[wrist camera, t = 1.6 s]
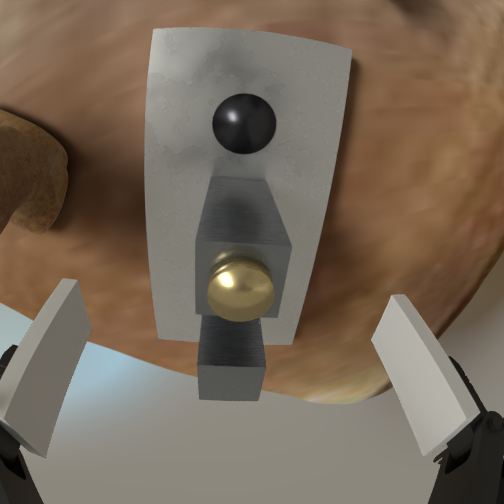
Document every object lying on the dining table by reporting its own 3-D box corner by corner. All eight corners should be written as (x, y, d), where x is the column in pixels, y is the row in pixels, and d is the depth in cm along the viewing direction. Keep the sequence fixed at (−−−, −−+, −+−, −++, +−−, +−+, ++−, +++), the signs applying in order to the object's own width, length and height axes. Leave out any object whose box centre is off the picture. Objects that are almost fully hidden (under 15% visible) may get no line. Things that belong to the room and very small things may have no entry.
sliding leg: (266, 181, 20) (296, 258, 11) (260, 231, 22) (280, 332, 13) (210, 177, 20) (192, 252, 11) (208, 228, 22) (193, 328, 13)
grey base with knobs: (344, 52, 17) (436, 28, 7) (289, 334, 31) (309, 426, 21) (158, 33, 16) (92, -17, 6) (160, 328, 29) (141, 422, 19)
